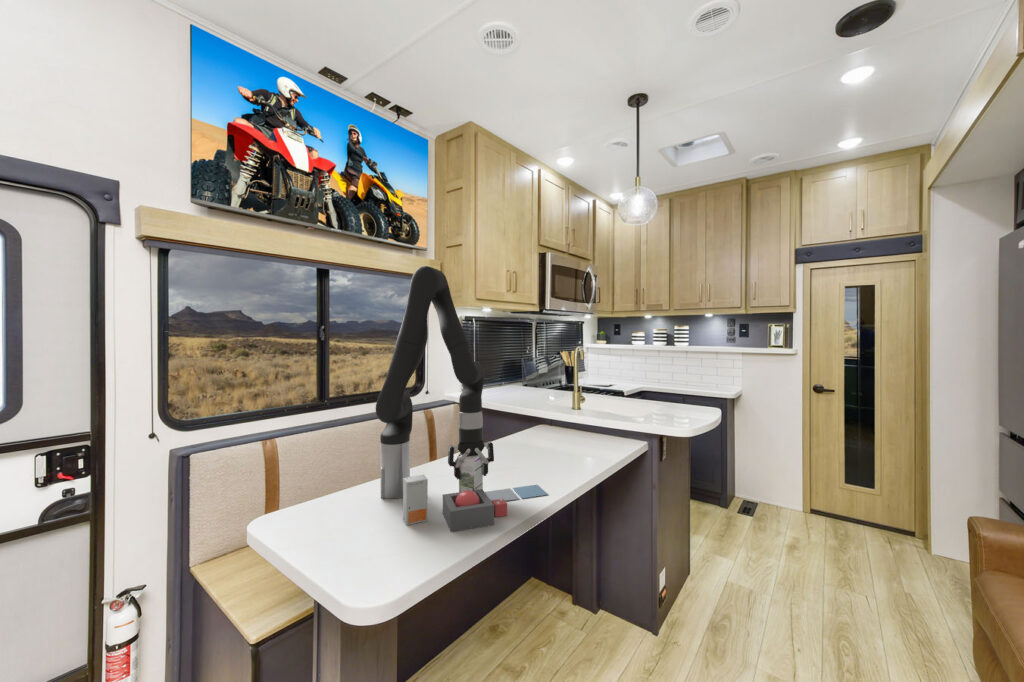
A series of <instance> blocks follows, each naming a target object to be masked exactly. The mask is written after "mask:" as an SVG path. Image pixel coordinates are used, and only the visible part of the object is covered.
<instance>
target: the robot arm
mask: <svg viewBox="0 0 1024 682" xmlns="http://www.w3.org/2000/svg"><path fill="white" fill-rule="evenodd" d="M450 290H451V289H450V287H449V282H448V280H447V277H446V274H444V272H443V271H441V270H439V269H437V268H434V267H432V266H428V265H423V266H420V267H418V268H417V269H416V270H415V271H414V273H413V274H412V277H411V279H410V286H409V291H408V297H407V302H406V307H405V311H404V314H403V318H402V322H401V325H400V329H399V332H398V335H397V337H396V341H395V345H394V349H393V353H392V356H391V360H390V364H389V368H388V370H387V375H386V376H385V377H386V378H385V379H384V382H383V385H382V387H381V390H380V392H379V394H378V398H377V400H376V403H375V414H376V417H377V418H378V420H379V421H380V422H382V423H385V424H386V425H385V427H384V429H383V430H382V432H380V467H379V468H380V470H379V471H380V498H381V499H399V498H400V499H401V498H403V478H407V477H411V458H410V457H411V455H410V454H411V450H410V449H411V448H410V447H411V446H410V445H411V440H410V438H411V437H410V436H411V432H412V430H413V415H414V414H413V411H414V409H413V402H412V401H413V400H412V398H411V397H410V395H409V394H408V393H407V392H406V389H407V386H408V384H409V382H410V379H411V378H412V376H413V374H415V371H416V370H417V368H418V367H419V365H420V364H421V361H422V359H423V357H424V354H425V350H426V347H427V343H428V338H429V332H428V331H429V327H428V316H429V315H428V314H429V310H430V306H431V303H432V305H433V306H434V308H435V312H436V315H437V318H438V323H439V330H440V334H441V337H442V339H443V342H444V344H445V348H447V351H448V354H449V356H450V361H451V365H452V369H453V373H454V375H455V377H456V380H457V381H458V382H459V383H460V384H461V385H462V392H461V393H460V395H459V398H458V399H459V400H458V401H459V403H458V404H459V405H458V406H459V408H458V409H459V413H458V422H457V423H458V444H457V445H452V444H450V445H449V446H448V453H447V455H448V457H447V463H448V466H449V467H453V475H454V478H456V480H459V479H460V468H459V466H460V464H461V463H462V462H463V461H464V459H465V458H466V457H468V456H474V455H479V456H480V458H481V459H482V460H483V477H486V476H487V475H488V474H489V464H490V463H491V462H492V463H493V462H494V461H495V454H494V452H495V451H494V444H493V442H492V441H490V440H489V441H486V442H484V419H483V417H484V416H483V402H482V401H483V399H482V396H483V395H482V394H483V389H484V380H485V372H484V368H483V366H482V365H481V363H480V362H477V361H474V360H473V358H472V355H471V350H472V348H471V344H470V342H469V339H468V337H467V334H466V332H465V330H464V328H463V325H462V324H461V321H460V319H459V317H458V313H457V310H456V308H455V305H454V301H453V298H452V297H453V296H452V294H451V291H450ZM485 448H486V450H487V457H485V455H484V453H482V451H483V450H484V449H485ZM457 451H459V453H458V455H457V457H456V459H455V456H454V455H455V454H456V452H457ZM461 455H462V456H461ZM481 455H482V456H481ZM459 456H461V457H459ZM454 459H455V460H454Z"/></svg>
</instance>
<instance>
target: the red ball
mask: <svg viewBox="0 0 1024 682" xmlns="http://www.w3.org/2000/svg"><path fill="white" fill-rule="evenodd" d="M476 504H480V500H479V497H478V495H477V494H476V493H475V492H473V491H470V490H466V491H463V492H461V493H460V494H459V495H458V496H457V498H456V501H455V506H456V507H462V506H469V505H476Z"/></svg>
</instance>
